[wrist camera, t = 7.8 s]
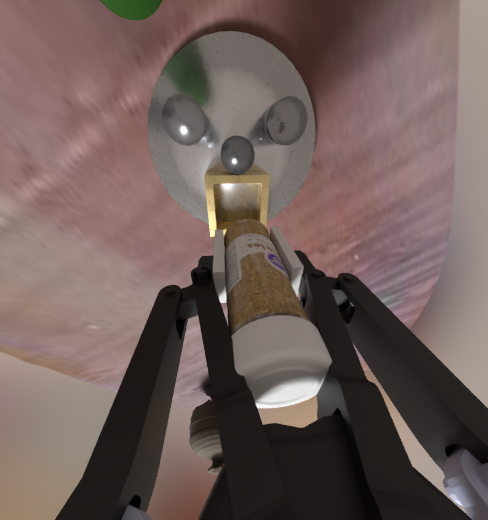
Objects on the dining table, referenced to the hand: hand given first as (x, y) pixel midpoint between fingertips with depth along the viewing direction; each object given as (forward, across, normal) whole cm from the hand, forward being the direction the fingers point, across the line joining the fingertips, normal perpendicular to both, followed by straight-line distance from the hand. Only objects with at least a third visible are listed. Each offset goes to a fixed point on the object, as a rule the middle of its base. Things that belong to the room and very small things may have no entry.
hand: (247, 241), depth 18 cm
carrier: (+15, 0, +7) cm, 16 cm away
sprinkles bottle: (+1, 0, 0) cm, 1 cm away
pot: (+15, -7, -64) cm, 67 cm away
